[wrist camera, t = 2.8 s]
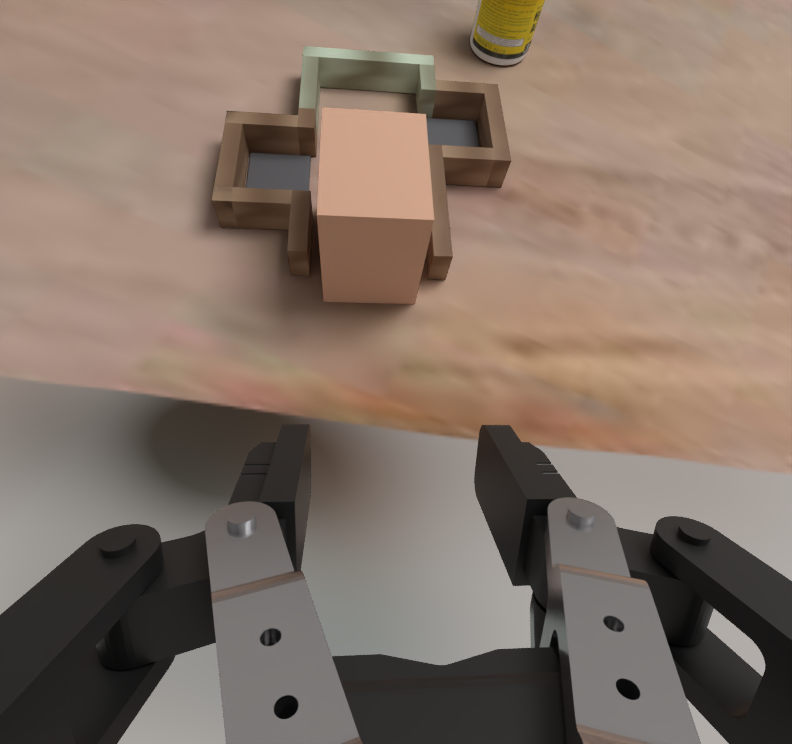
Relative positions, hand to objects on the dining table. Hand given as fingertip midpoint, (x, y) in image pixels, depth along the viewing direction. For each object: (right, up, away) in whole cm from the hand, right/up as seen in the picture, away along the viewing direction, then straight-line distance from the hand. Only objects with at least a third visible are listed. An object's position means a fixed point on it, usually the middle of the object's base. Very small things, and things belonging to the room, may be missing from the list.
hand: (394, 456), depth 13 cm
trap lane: (-2, +18, +24) cm, 30 cm away
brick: (-2, +10, +20) cm, 23 cm away
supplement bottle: (+9, +32, +32) cm, 46 cm away
